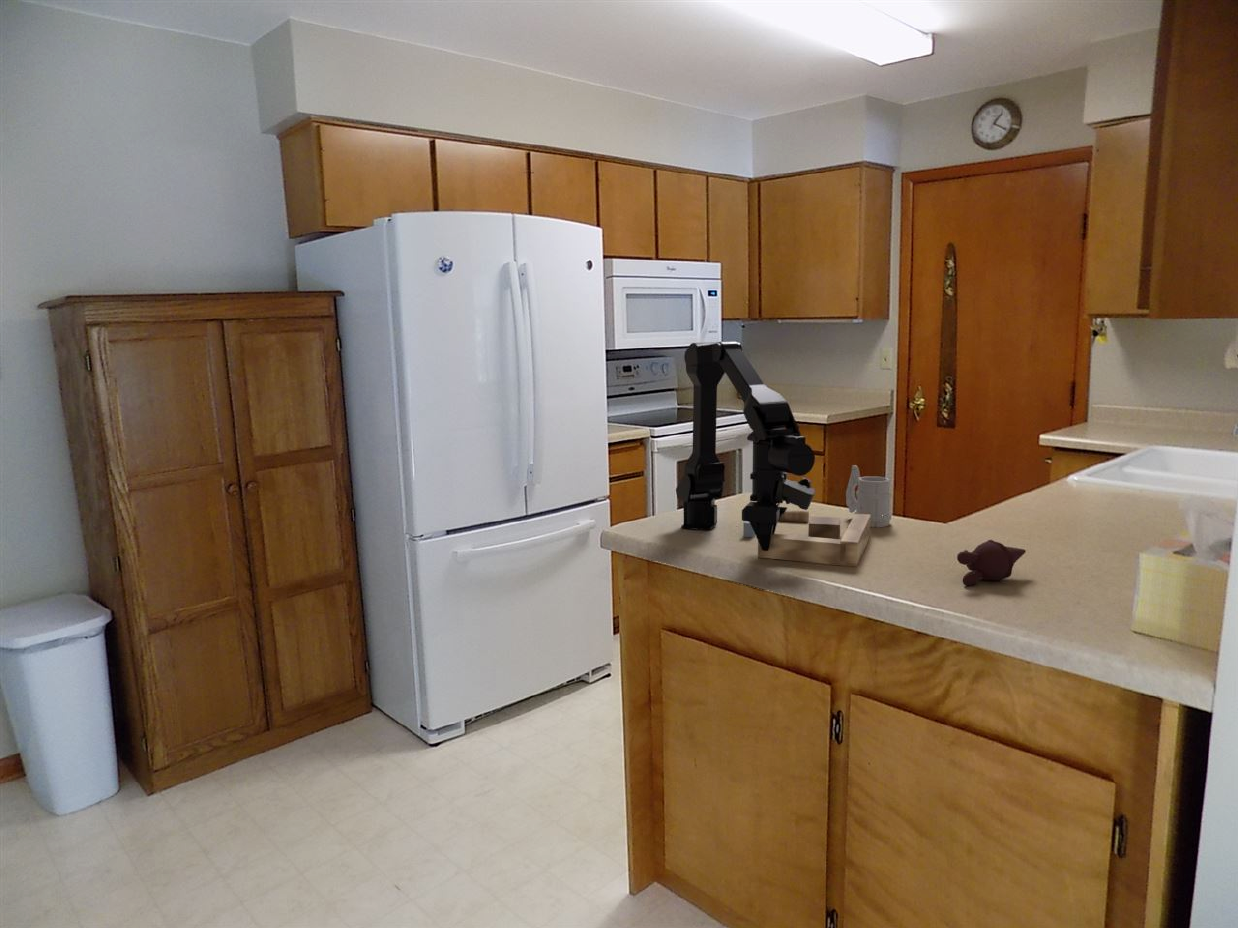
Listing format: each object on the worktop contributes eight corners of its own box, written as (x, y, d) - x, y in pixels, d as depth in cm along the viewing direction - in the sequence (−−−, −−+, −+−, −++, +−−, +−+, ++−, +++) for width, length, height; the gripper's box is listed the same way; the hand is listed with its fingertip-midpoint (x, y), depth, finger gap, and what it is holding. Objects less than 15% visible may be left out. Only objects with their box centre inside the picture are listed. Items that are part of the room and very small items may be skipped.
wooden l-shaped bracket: (757, 557, 152) (758, 533, 152) (782, 528, 173) (782, 508, 172) (856, 566, 145) (857, 542, 145) (869, 536, 166) (870, 514, 165)
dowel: (763, 520, 183) (761, 519, 181) (764, 509, 184) (762, 508, 181) (808, 523, 180) (807, 522, 178) (809, 512, 180) (807, 511, 178)
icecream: (1002, 531, 143) (939, 550, 137) (1038, 530, 136) (973, 549, 130) (1011, 570, 143) (948, 590, 137) (1047, 570, 136) (983, 592, 130)
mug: (872, 529, 171) (873, 473, 169) (833, 518, 182) (834, 465, 180) (898, 524, 174) (900, 470, 172) (859, 514, 185) (861, 462, 183)
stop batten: (743, 536, 168) (743, 522, 167) (751, 527, 175) (751, 513, 174) (753, 537, 167) (753, 523, 166) (760, 528, 174) (760, 514, 174)
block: (808, 542, 163) (808, 523, 162) (810, 535, 168) (810, 516, 168) (839, 544, 161) (839, 524, 160) (839, 536, 167) (840, 517, 166)
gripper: (805, 478, 139) (803, 566, 142) (818, 460, 156) (816, 538, 159) (741, 475, 143) (740, 560, 145) (760, 458, 160) (759, 534, 163)
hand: (767, 548), depth 153 cm, fingers closed on wooden l-shaped bracket, 3 cm apart
